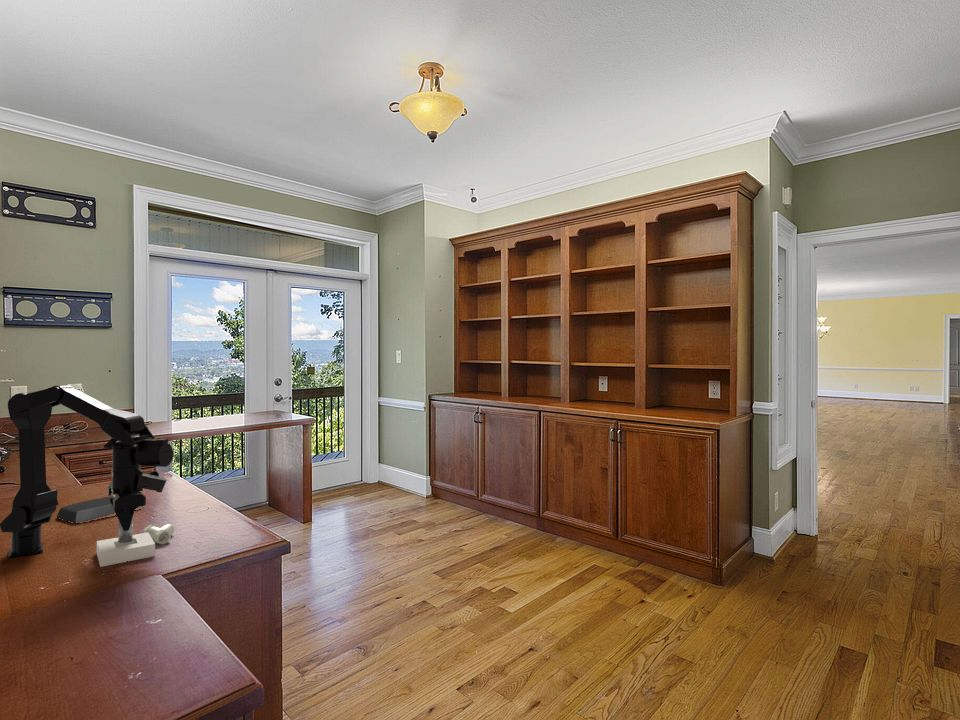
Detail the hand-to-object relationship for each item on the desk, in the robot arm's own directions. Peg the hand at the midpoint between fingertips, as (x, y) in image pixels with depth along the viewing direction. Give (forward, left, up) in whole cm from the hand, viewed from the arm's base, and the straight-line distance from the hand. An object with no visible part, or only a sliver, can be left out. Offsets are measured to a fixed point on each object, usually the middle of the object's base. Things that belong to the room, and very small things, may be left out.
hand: (125, 528), depth 131 cm
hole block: (0, 0, -6) cm, 6 cm away
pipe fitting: (-7, +9, -7) cm, 14 cm away
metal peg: (0, 0, -3) cm, 3 cm away
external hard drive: (-45, -2, -7) cm, 46 cm away
